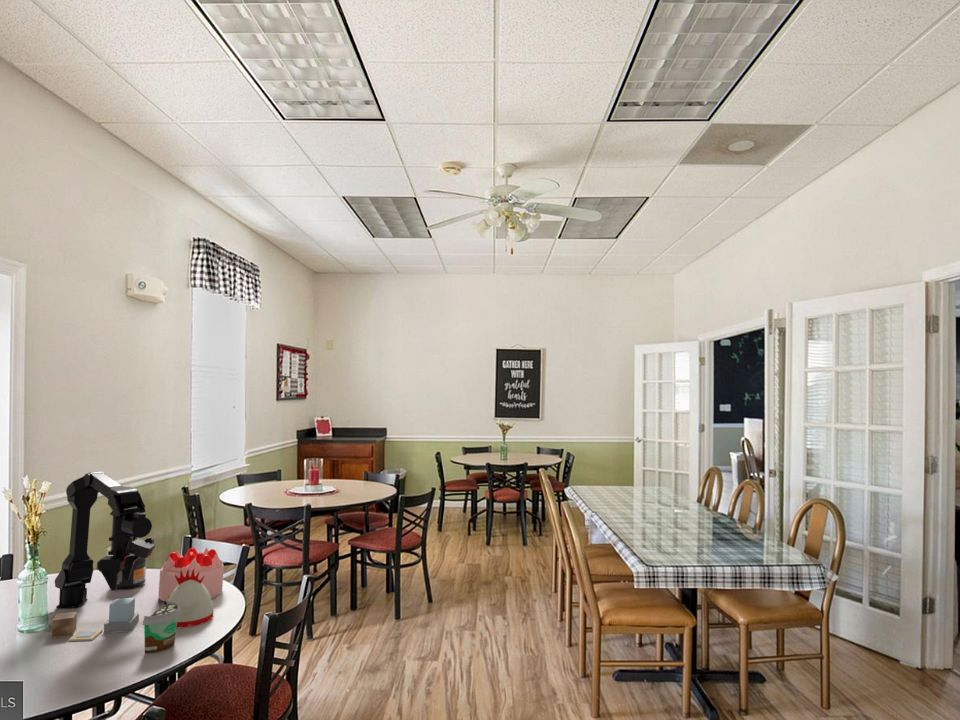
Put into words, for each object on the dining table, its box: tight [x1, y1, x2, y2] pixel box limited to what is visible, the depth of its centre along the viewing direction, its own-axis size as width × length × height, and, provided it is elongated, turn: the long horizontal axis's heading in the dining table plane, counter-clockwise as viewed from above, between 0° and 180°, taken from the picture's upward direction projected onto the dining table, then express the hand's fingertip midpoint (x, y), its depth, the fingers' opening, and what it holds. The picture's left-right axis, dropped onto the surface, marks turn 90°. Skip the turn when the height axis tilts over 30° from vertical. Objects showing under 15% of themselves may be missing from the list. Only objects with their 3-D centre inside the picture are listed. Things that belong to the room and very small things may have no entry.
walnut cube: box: [51, 611, 78, 639], centre depth 174 cm, size 5×5×5 cm
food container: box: [142, 602, 181, 654], centre depth 168 cm, size 12×6×10 cm, turn 179°
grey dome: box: [168, 569, 214, 629], centre depth 187 cm, size 14×14×15 cm
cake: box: [158, 547, 225, 603], centre depth 208 cm, size 20×20×14 cm
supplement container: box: [116, 557, 148, 591], centre depth 216 cm, size 10×10×12 cm
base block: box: [103, 612, 140, 634], centre depth 180 cm, size 7×7×3 cm
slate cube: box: [108, 597, 136, 622], centre depth 179 cm, size 5×5×5 cm
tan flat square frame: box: [68, 629, 103, 642], centre depth 173 cm, size 6×6×1 cm
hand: (120, 584), depth 182 cm, fingers open, 9 cm apart
